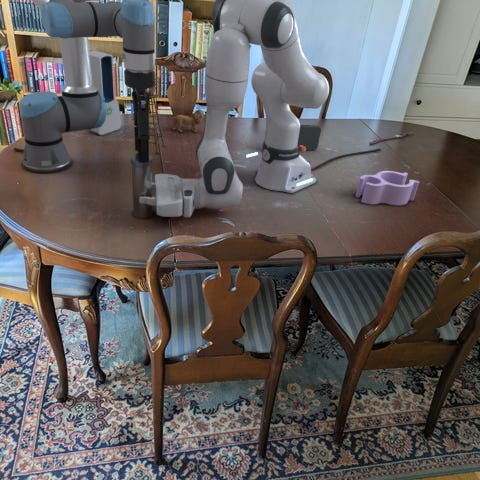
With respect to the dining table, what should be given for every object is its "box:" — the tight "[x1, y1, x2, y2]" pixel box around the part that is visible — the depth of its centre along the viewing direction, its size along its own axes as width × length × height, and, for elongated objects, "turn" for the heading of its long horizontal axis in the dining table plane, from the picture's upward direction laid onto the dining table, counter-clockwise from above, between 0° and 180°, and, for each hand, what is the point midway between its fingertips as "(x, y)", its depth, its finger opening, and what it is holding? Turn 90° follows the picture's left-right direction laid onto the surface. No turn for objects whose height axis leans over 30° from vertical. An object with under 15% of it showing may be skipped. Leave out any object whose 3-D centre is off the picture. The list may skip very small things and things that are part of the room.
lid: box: [130, 152, 153, 167], centre depth 129 cm, size 6×6×2 cm
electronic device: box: [88, 50, 122, 136], centre depth 182 cm, size 12×8×30 cm, turn 148°
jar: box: [131, 163, 153, 219], centre depth 133 cm, size 5×5×18 cm
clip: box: [355, 170, 420, 206], centre depth 160 cm, size 20×12×7 cm, turn 109°
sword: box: [370, 133, 413, 145], centre depth 213 cm, size 31×3×1 cm, turn 126°
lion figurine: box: [169, 108, 205, 133], centre depth 196 cm, size 15×5×9 cm, turn 110°
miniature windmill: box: [147, 68, 166, 154], centre depth 171 cm, size 9×8×30 cm
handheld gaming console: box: [297, 124, 322, 151], centre depth 189 cm, size 23×3×10 cm, turn 108°
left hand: (141, 155), depth 128 cm, fingers open, 8 cm apart
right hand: (139, 193), depth 134 cm, fingers closed on jar, 5 cm apart
